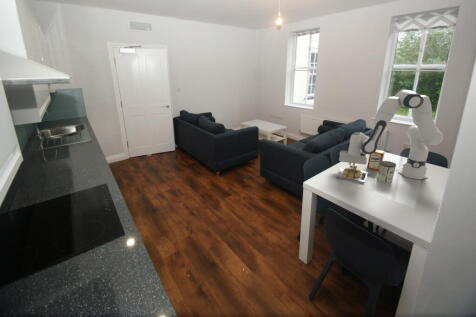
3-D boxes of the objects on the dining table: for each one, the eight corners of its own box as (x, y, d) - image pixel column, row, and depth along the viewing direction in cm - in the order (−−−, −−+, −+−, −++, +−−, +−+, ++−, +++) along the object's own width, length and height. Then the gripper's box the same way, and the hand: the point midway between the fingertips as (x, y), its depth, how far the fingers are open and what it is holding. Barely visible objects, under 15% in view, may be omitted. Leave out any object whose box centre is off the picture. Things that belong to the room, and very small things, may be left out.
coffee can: (380, 176, 184) (384, 159, 179) (394, 180, 176) (398, 163, 171) (373, 179, 179) (377, 162, 174) (388, 184, 171) (392, 167, 166)
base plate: (341, 169, 198) (342, 162, 196) (367, 174, 188) (368, 167, 185) (335, 177, 183) (336, 171, 181) (363, 184, 172) (365, 176, 170)
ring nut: (341, 174, 183) (342, 169, 182) (347, 167, 196) (347, 162, 195) (359, 178, 176) (360, 173, 174) (364, 170, 189) (364, 166, 187)
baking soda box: (381, 168, 198) (384, 150, 192) (379, 171, 193) (383, 153, 187) (368, 165, 203) (372, 148, 197) (366, 168, 199) (370, 150, 193)
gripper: (340, 151, 188) (337, 167, 193) (368, 154, 180) (365, 170, 186) (340, 149, 193) (337, 164, 198) (367, 152, 186) (364, 167, 191)
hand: (351, 167), depth 192 cm, fingers closed
